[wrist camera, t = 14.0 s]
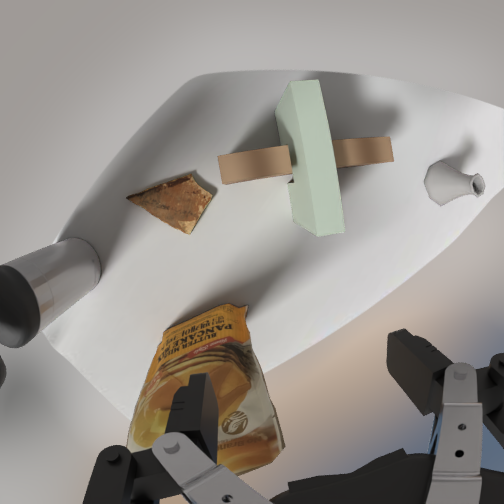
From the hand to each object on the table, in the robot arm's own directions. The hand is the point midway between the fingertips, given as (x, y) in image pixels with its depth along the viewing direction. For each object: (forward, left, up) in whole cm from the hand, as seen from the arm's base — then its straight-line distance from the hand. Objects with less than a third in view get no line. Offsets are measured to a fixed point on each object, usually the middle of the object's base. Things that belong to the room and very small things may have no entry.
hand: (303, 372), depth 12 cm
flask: (+30, +13, -32) cm, 45 cm away
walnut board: (+4, +12, -31) cm, 34 cm away
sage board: (+4, +11, -31) cm, 34 cm away
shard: (-12, +4, -32) cm, 35 cm away
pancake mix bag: (-7, -15, -32) cm, 36 cm away
